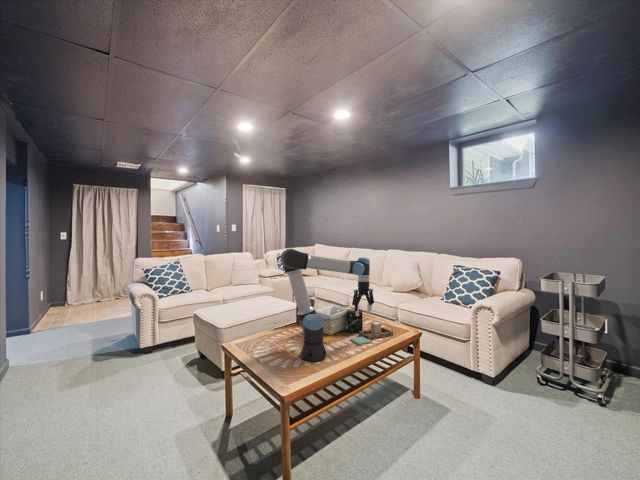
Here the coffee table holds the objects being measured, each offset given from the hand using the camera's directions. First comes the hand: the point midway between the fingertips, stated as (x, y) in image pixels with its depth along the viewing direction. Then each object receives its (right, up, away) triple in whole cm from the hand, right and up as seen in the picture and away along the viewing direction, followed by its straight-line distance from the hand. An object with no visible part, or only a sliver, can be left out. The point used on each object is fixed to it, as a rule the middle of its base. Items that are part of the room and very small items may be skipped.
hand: (363, 315), depth 193 cm
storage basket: (-20, -16, +22) cm, 34 cm away
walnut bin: (+10, -17, +9) cm, 22 cm away
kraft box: (+10, -16, +9) cm, 22 cm away
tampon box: (-3, -17, +20) cm, 26 cm away
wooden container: (-40, -17, +41) cm, 60 cm away
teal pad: (-2, -17, -2) cm, 17 cm away
